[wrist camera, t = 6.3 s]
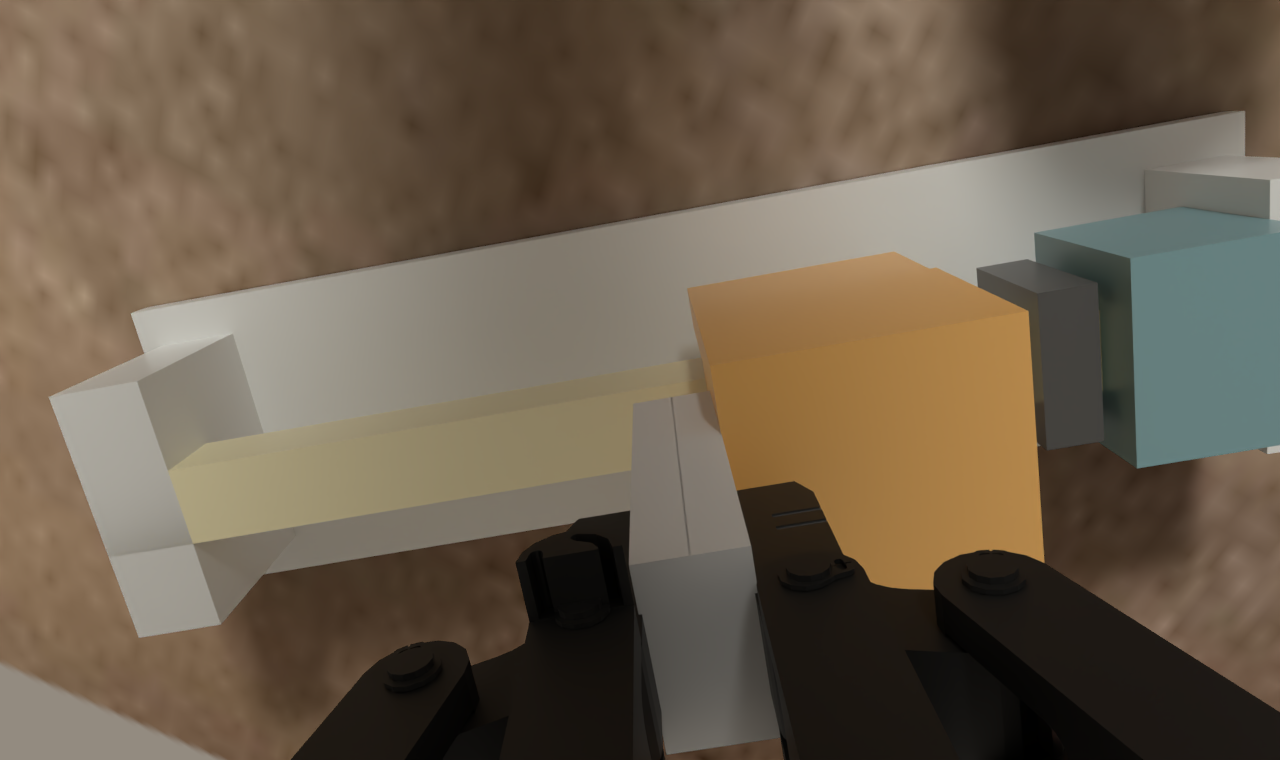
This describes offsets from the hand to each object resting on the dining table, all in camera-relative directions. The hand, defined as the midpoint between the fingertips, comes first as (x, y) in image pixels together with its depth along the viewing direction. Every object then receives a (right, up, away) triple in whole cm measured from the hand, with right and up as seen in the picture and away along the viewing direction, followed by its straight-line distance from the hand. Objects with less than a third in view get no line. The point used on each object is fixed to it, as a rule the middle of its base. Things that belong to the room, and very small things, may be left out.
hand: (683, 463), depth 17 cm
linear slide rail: (+1, +2, +8) cm, 8 cm away
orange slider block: (+3, +2, +5) cm, 6 cm away
